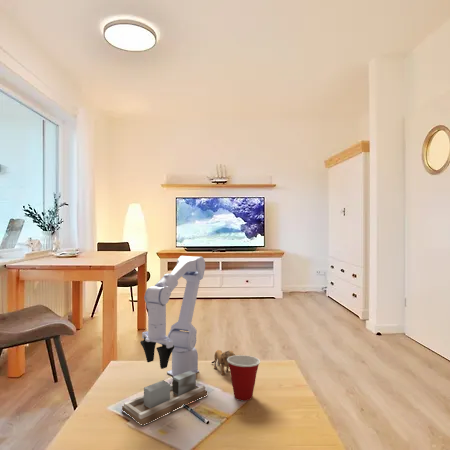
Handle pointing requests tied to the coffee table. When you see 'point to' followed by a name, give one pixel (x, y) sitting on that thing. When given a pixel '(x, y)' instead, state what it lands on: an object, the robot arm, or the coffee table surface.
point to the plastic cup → (243, 375)
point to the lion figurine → (222, 360)
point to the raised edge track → (179, 395)
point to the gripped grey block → (156, 394)
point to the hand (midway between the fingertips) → (156, 364)
